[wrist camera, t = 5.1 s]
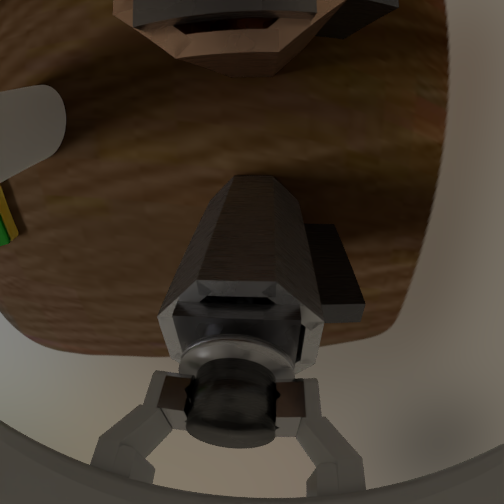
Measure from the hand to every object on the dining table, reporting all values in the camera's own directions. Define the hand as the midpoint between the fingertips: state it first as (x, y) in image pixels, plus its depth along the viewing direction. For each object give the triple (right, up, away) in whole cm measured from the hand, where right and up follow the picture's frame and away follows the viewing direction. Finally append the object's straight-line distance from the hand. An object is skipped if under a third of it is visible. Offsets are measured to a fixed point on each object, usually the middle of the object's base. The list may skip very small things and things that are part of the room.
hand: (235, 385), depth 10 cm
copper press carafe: (+2, +20, +5) cm, 20 cm away
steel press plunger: (+1, +5, +9) cm, 10 cm away
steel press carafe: (+2, +8, +12) cm, 15 cm away
